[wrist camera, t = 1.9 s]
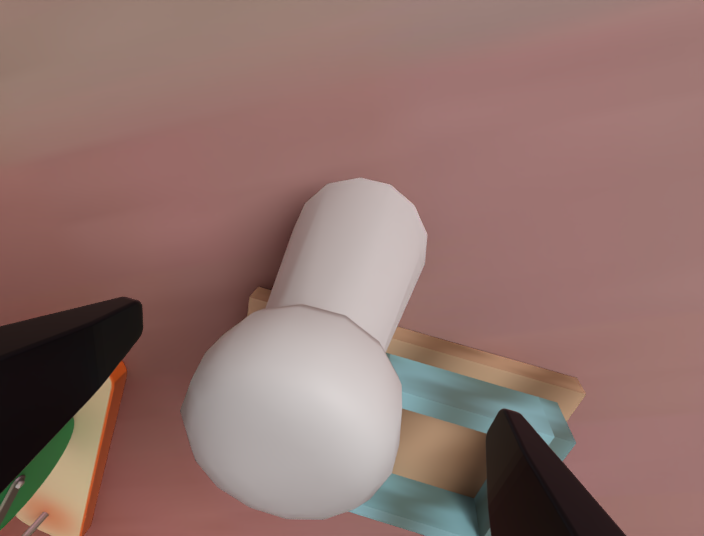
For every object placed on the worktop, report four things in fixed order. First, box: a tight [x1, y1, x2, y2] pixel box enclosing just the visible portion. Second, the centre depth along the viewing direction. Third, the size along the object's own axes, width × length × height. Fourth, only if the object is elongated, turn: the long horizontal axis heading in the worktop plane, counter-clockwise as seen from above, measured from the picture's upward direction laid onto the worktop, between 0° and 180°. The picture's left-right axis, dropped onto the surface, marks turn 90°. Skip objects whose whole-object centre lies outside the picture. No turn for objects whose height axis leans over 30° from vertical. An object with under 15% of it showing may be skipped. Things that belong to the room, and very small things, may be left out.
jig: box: [247, 287, 586, 536], centre depth 21 cm, size 18×12×4 cm, turn 77°
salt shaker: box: [180, 178, 427, 520], centre depth 12 cm, size 6×6×13 cm
